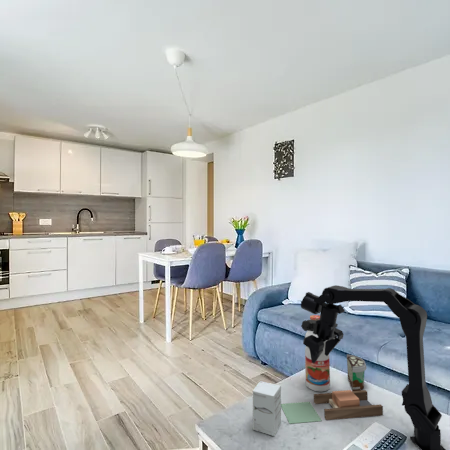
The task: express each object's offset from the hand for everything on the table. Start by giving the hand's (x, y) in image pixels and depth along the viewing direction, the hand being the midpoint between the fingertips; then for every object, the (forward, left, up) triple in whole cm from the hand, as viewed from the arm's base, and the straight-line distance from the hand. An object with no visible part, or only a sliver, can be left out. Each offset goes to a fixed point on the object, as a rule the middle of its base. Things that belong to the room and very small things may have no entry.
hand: (319, 358), depth 112 cm
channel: (-6, -7, -15) cm, 18 cm away
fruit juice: (+10, -3, -15) cm, 18 cm away
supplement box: (-12, +23, -15) cm, 30 cm away
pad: (-6, +10, -15) cm, 19 cm away
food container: (+8, -19, -15) cm, 26 cm away
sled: (-6, -6, -15) cm, 17 cm away
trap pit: (-6, -13, -15) cm, 21 cm away
